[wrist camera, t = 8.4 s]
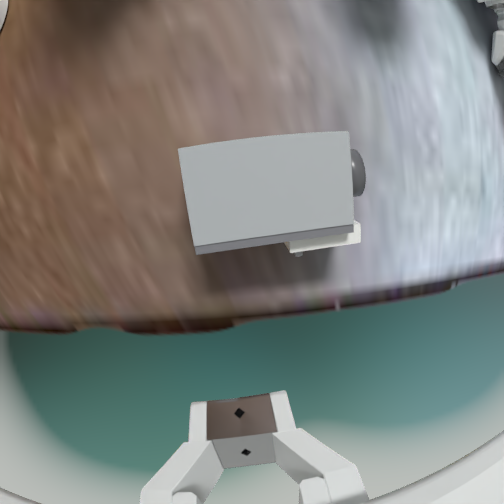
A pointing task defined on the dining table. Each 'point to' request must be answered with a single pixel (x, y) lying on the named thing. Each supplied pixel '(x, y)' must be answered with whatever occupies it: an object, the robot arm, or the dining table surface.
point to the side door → (324, 241)
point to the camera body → (270, 189)
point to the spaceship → (497, 34)
